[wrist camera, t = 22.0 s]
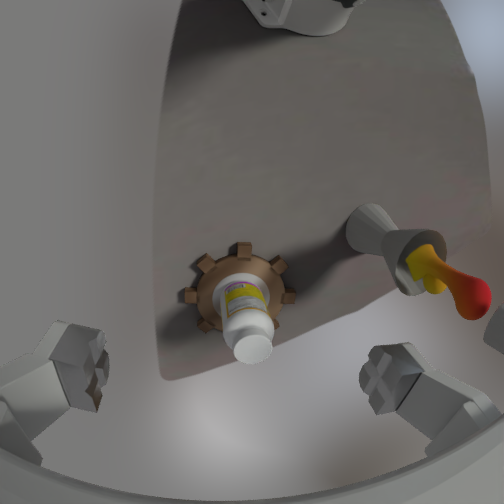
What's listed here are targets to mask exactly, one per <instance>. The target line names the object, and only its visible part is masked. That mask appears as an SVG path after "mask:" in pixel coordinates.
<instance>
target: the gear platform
mask: <svg viewBox="0 0 504 504" xmlns="http://www.w3.org/2000/svg"><path fill="white" fill-rule="evenodd" d="M251 252H252V245H251V242H237V254H232V255H228V256H225V257H223V258H220V259H218V260H217V261H214V260H213V259H212V258H211V257H210V256H209V255H208V254H207V253H206V254H205V255H204V256H203V257H201V258H200V259H199V260H198V261H197V266H198V267H199V268H200V269H201V270H202V271H203V274H202V276H201V277H200V280H199V282H198V286H197V288H188V287H185V303H197V306H198V309H199V312H200V314H201V315H202V318H201V319H200V320H199V321H198V322H197V327H198V328H200V329H201V330H202V331H203V332H205V333H207V332H208V331H210V330H211V329H212V328H216V329H218V330H220V331H223V328H222V317H221V307H220V297H221V293H222V291H223V290H224V288H225V287H226V286H227V285H229V284H230V283H232V282H235V281H239V280H246V281H250V282H253V283H254V284H256V285H257V286H258V287H259V288H260V290H261V292H262V294H263V297H264V299H265V302H266V305H267V308H268V311H269V313H270V316H271V319H272V321H273V324H274V330H275V329H277V328H278V327H279V323H278V321H277V320H276V319H275V318H276V316H277V315H278V314H279V312H280V310H281V308H282V306H283V304H294V302H295V296H296V292H295V290H294V289H285V288H284V284H283V281H282V279H281V277H280V274H281V273H282V272H284V271H285V270H286V269H287V268H289V267H288V265H287V264H286V262H285V261H284V260H283V259H282V258H281V257H280V256H279V255H278V256H277V257H276V258H274V259H273V260H272V261H271V262H270V263H269V262H268V261H266V260H265V259H263V258H261V257H258V256H256V255H251Z"/></svg>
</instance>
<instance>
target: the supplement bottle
mask: <svg viewBox="0 0 504 504" xmlns="http://www.w3.org/2000/svg"><path fill="white" fill-rule="evenodd" d="M220 307H221V317H222V328H223V337H224V340H225V342H226V344H227V345H228V346H229V347H230V348H231V349H232V350H233V353H234V356H235V358H236V359H237V360H238V361H240V362H242V363H245V364H256V363H260V362H262V361H264V360H265V359H267V357H269V355H270V354H271V352H272V343H271V341H272V339H273V336H274V324H273V321H272V319H271V316H270V313H269V311H268V308H267V305H266V302H265V299H264V297H263V294H262V292H261V290H260V288H259V287H258V286H257V285H256V284H254V283H253V282H250V281H246V280H239V281H235V282H232V283H230V284H229V285H227V286H226V287H225V288H224V290H223V291H222V293H221V297H220Z"/></svg>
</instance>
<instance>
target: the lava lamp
mask: <svg viewBox="0 0 504 504" xmlns="http://www.w3.org/2000/svg"><path fill="white" fill-rule="evenodd" d="M346 238H347V241H348V244H349V245H350V246H351V247H352V249H354V250H356V251H357V252H361V253H367V254H373V255H378V256H384V258H385V260H386V263H387V265H388V267H389V270H390V272H391V274H392V277H393V279H394V281H395V284H396V285H397V287H398V288H399V290H400V291H401V292H402V293H404V294H406V295H409V296H411V295H412V296H415V295H418V294H421V293H423V292H425V291H426V290H427V291H428V292H429V293H431V294H439V293H441V292H443V291H444V290H445V289H446V287H447V286H448V288H449V290H450V291H451V293H452V295H453V298H454V301H455V305H456V309H457V311H458V312H459V314H460V315H461V316H462V317H463V318H465V319H467V320H477V319H479V318H481V317H482V316H483V315H485V314H486V312H487V311H488V309H489V307H490V304H491V291H490V288H489V286H488V285H487V284H486V283H485V282H484V281H483V280H481V279H479V278H475V277H473V276H469V275H467V274H464V273H462V272H459V271H457V270H455V269H454V268H452V267H450V266H449V265H447V264H446V263H445V261H446V254H447V250H446V243H445V241H444V239H443V236H442V235H441V234H439V233H438V232H437V231H434V230H430V229H408V230H399V229H398V228H397V227H396V225H395V224H394V222H393V221H392V220H391V218H390V217H389V216H388V214H387V213H386V212H385V210H384V209H383V208H382V207H380V206H379V205H377V204H373V203H368V204H363V205H362V206H360V207H358V208H357V209H356V210H355V211H354V212H353V213H352V214H351V216H350V217H349V219H348V221H347V225H346ZM483 340H484V342H485V343H486V344H488V345H489V346H491V347H493V348H494V349H496V350H497V351H499V352H501V353H502V354H504V302H503V303H502V304H501V305H500V306H499V307H498V309H497V310H496V311H495V313H494V314H493V316H492V318H491V319H490V321H489V323H488V325H487V327H486V330H485V333H484V338H483Z"/></svg>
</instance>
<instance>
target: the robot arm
mask: <svg viewBox="0 0 504 504" xmlns="http://www.w3.org/2000/svg"><path fill="white" fill-rule="evenodd" d="M242 1H243V2H244V3H245V4H246V6H247V7H248V8H249V10H250V11H251V13H252V14H253V15H254V17H255V18H256V19H257V21H258V22H259V24H260V25H261V26H263V27H266V28H285V29H288V30H291V31H294V32H297V33H300V34H304V35H310V36H325V35H330V34H333V33H335V32H337V31H339V30H340V29H341V28H343V27H344V25H345V24H346V22H347V20H348V17H349V15H350V13H351V12H352V10H353V9H354V8H355V6H358V5H360V4H362V3H364V2H365V1H366V0H242ZM262 13H264V14H266V16H263V15H261V14H262ZM105 344H106V338H105V333H104V332H103V331H102V330H99V329H94V328H90V327H85V326H80V325H76V324H70V323H66V322H63V321H59V320H57V321H55V322H54V323H53V324H52V325H51V327H50V328H49V330H48V331H47V332H46V334H45V335H44V337H43V338H42V340H41V341H40V343H39V344H38V346H37V347H36V349H35V350H34V352H33V354H29V353H27V354H25V355H23V356H21V357H19V358H17V359H15V360H13V361H11V362H8V363H6V364H4V365H2V366H0V504H504V414H501V412H500V411H499V410H498V409H497V408H496V406H495V405H494V404H493V403H492V401H491V400H490V399H489V398H488V397H487V396H486V394H485V393H483V392H481V391H479V390H477V389H475V388H473V387H471V386H469V385H467V384H465V383H463V382H461V381H460V380H457V379H456V378H454V377H452V376H450V375H448V374H446V373H444V372H442V371H440V370H438V369H437V370H435V369H434V368H433V367H432V366H431V365H430V363H429V362H428V361H427V360H426V359H425V357H423V355H422V354H421V353H420V352H419V351H418V349H417V348H416V347H415V346H414V345H413V344H411V343H409V342H407V343H399V344H392V345H380V346H374V347H373V348H372V349H371V351H370V352H369V355H368V357H369V361H368V362H367V363H365V364H364V365H363V366H362V369H361V371H360V373H359V383H360V387H361V388H362V390H363V392H365V393H366V394H368V395H369V403H370V405H371V406H372V408H373V410H374V412H375V414H376V415H379V414H384V413H389V412H394V411H396V413H397V414H398V415H400V416H401V417H402V418H404V419H405V420H406V421H407V422H409V423H410V424H411V425H413V426H414V427H415V428H417V429H418V430H419V431H420V432H422V433H423V434H424V435H426V436H427V437H428V438H430V439H431V440H432V441H431V443H430V444H429V445H428V446H427V447H426V448H425V453H426V454H427V456H428V457H426V458H424V459H422V460H420V461H418V462H415V463H413V464H410V465H408V466H405V467H403V468H400V469H397V470H395V471H392V472H389V473H386V474H383V475H380V476H377V477H374V478H371V479H368V480H364V481H361V482H358V483H354V484H350V485H346V486H342V487H338V488H333V489H329V490H325V491H319V492H314V493H309V494H303V495H296V496H289V497H282V498H272V499H261V500H247V501H246V500H245V501H197V500H182V499H171V498H161V497H154V496H147V495H140V494H135V493H129V492H124V491H119V490H115V489H110V488H106V487H102V486H98V485H94V484H91V483H87V482H84V481H80V480H77V479H74V478H71V477H68V476H65V475H62V474H59V473H57V472H54V471H51V470H49V469H46V468H43V467H41V462H42V459H43V458H42V456H41V454H40V453H39V451H38V450H37V449H36V448H35V446H34V445H33V444H32V442H31V441H32V440H33V439H34V438H36V436H38V435H39V434H40V433H41V432H42V431H44V430H45V429H46V428H47V427H49V426H50V425H51V424H52V423H53V422H54V421H56V420H57V419H58V418H59V417H60V416H62V415H63V414H64V413H65V412H66V411H67V410H68V409H70V407H74V408H78V409H82V410H86V411H91V412H96V413H97V411H98V408H99V405H100V402H101V399H102V392H101V387H103V386H104V385H106V383H107V379H108V375H109V356H108V353H107V352H106V351H105V350H104V346H105Z"/></svg>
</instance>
